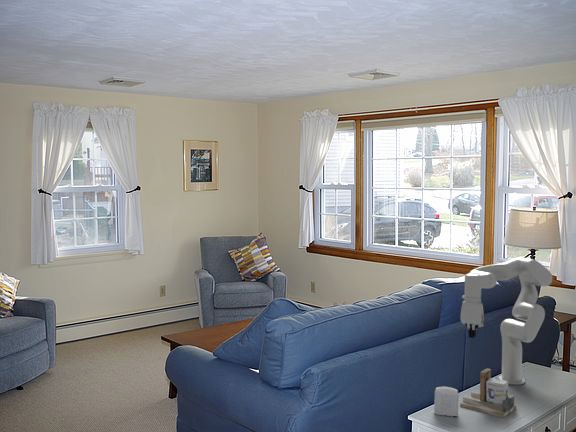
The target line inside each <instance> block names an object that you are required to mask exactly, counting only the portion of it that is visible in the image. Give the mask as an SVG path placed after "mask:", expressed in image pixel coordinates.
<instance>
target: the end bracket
mask: <svg viewBox="0 0 576 432" xmlns="http://www.w3.org/2000/svg"><path fill="white" fill-rule="evenodd" d="M479 376H480V377H479V378H480V380H479V382H480V383H479V385H480V387H479V393H480V401H484V402H486V381H487V380H488V379H489V378H492V370H491V368H485V369H483V370H482V371H480V374H479Z"/></svg>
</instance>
